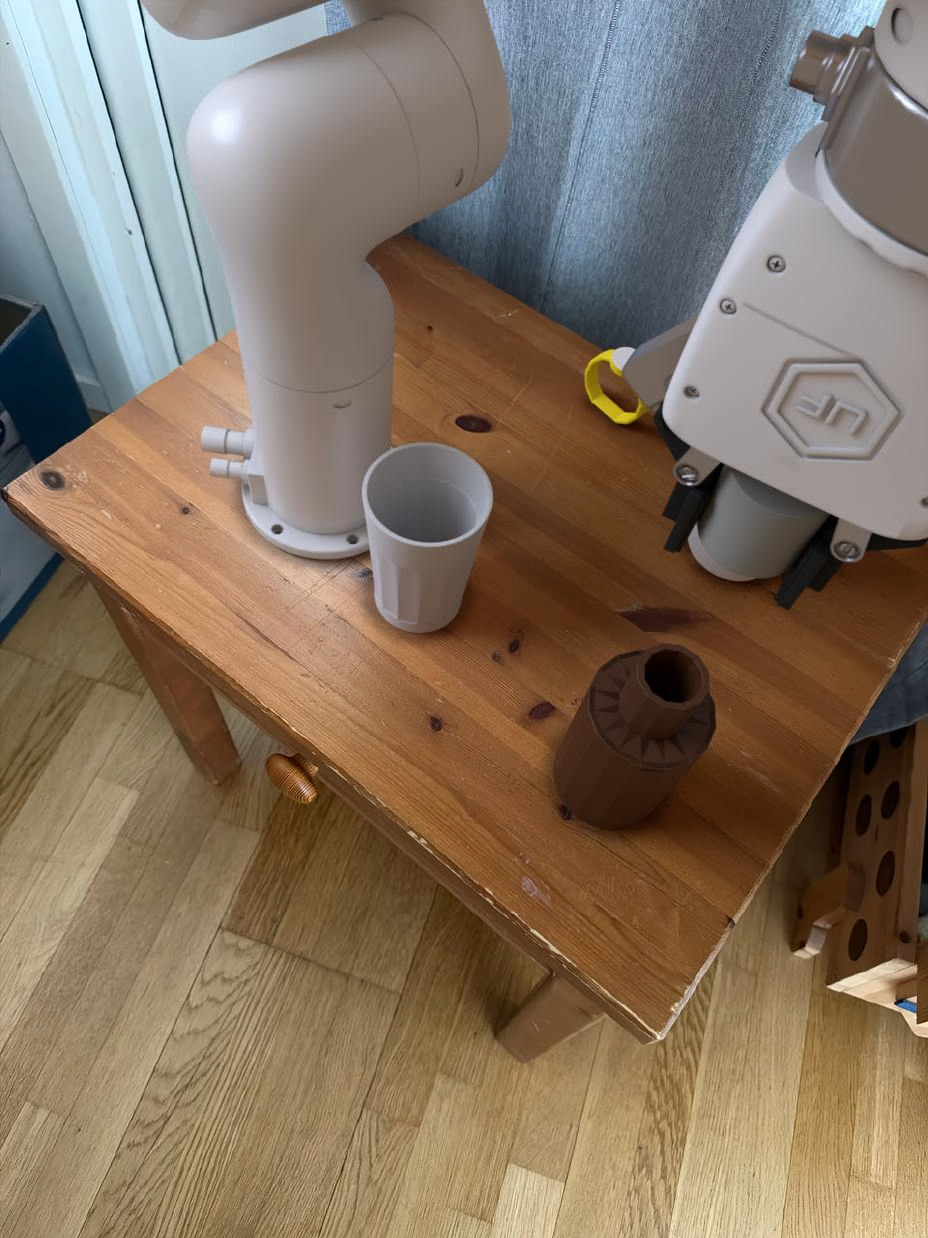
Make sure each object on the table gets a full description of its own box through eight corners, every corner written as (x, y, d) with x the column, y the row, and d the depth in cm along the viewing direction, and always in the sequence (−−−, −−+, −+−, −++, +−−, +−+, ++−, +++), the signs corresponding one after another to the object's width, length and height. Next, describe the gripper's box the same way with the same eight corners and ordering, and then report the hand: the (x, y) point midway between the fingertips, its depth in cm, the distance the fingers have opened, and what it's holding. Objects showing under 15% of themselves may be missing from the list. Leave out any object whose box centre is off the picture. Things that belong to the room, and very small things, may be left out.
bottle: (550, 822, 57) (603, 731, 44) (555, 719, 61) (605, 607, 48) (661, 835, 58) (746, 749, 45) (659, 732, 61) (737, 624, 48)
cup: (372, 542, 67) (373, 433, 56) (478, 556, 67) (498, 451, 57) (354, 635, 63) (352, 536, 52) (467, 650, 63) (487, 555, 53)
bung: (688, 591, 37) (734, 509, 33) (684, 508, 40) (726, 420, 35) (791, 603, 38) (852, 524, 33) (781, 520, 40) (837, 434, 35)
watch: (572, 397, 76) (587, 344, 71) (593, 382, 77) (610, 328, 72) (625, 439, 74) (644, 388, 69) (646, 423, 75) (667, 371, 70)
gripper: (624, 96, 23) (523, 527, 38) (1325, 374, 19) (900, 720, 35) (730, -19, 26) (598, 418, 42) (1337, 199, 23) (947, 584, 39)
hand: (737, 553), depth 38 cm, fingers closed on bung, 4 cm apart
